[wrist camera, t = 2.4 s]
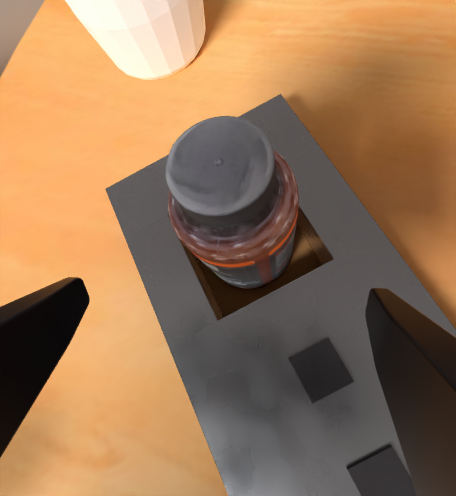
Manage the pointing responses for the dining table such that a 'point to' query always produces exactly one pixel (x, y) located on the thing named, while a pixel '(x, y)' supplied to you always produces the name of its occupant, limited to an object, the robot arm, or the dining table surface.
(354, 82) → the dining table surface
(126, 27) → the bottle
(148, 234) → the grey fixture plate
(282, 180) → the supplement bottle
